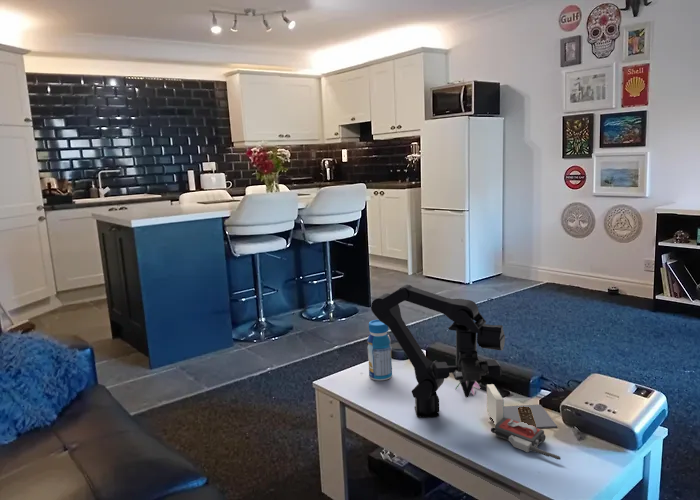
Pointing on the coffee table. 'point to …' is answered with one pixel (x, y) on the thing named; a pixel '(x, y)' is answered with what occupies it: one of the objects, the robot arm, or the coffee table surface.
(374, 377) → the beverage bottle
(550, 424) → the mat
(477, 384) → the lily
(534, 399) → the coffee table surface
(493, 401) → the tile
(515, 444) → the walkie-talkie
